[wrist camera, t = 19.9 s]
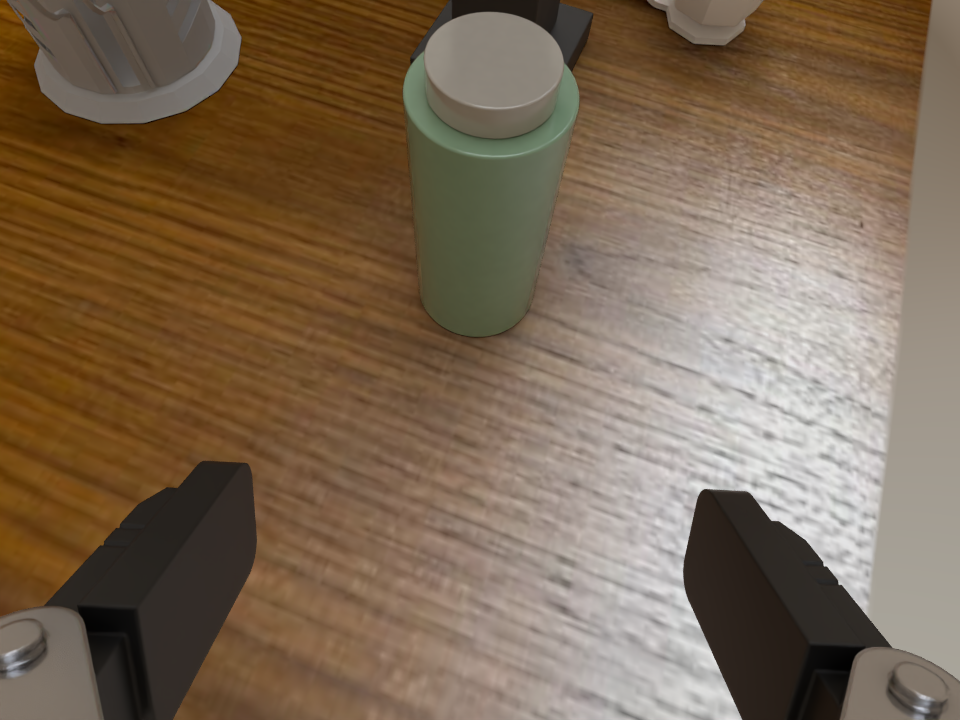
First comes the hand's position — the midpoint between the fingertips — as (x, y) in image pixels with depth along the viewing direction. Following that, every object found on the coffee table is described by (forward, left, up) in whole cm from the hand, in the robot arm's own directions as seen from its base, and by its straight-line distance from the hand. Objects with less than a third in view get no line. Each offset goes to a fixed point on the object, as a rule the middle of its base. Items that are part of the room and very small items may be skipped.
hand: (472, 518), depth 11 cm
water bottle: (+4, -11, -11) cm, 16 cm away
